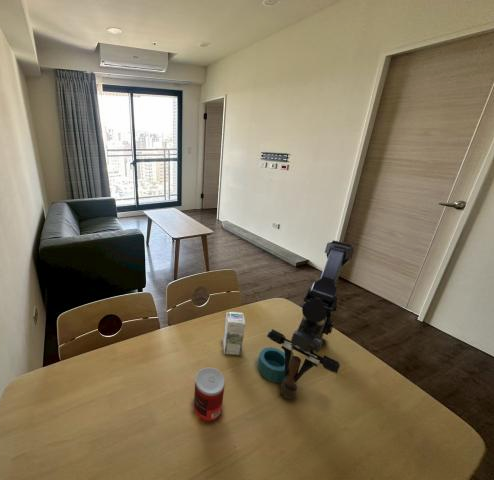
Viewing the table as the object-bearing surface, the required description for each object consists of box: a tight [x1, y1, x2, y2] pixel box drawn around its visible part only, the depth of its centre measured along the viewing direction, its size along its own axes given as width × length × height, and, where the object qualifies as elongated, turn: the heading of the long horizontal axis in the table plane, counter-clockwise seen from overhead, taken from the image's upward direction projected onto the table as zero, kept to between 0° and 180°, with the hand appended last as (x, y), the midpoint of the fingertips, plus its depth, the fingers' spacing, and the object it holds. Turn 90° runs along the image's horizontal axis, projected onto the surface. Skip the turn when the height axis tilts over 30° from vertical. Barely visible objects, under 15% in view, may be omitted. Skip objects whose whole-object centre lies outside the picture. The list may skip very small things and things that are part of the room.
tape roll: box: [257, 346, 287, 383], centre depth 81 cm, size 9×9×5 cm
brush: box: [279, 355, 302, 400], centre depth 71 cm, size 4×4×13 cm
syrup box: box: [222, 311, 247, 356], centre depth 87 cm, size 6×6×14 cm
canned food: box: [193, 367, 226, 422], centre depth 68 cm, size 8×8×11 cm
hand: (289, 379), depth 70 cm, fingers closed on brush, 2 cm apart
